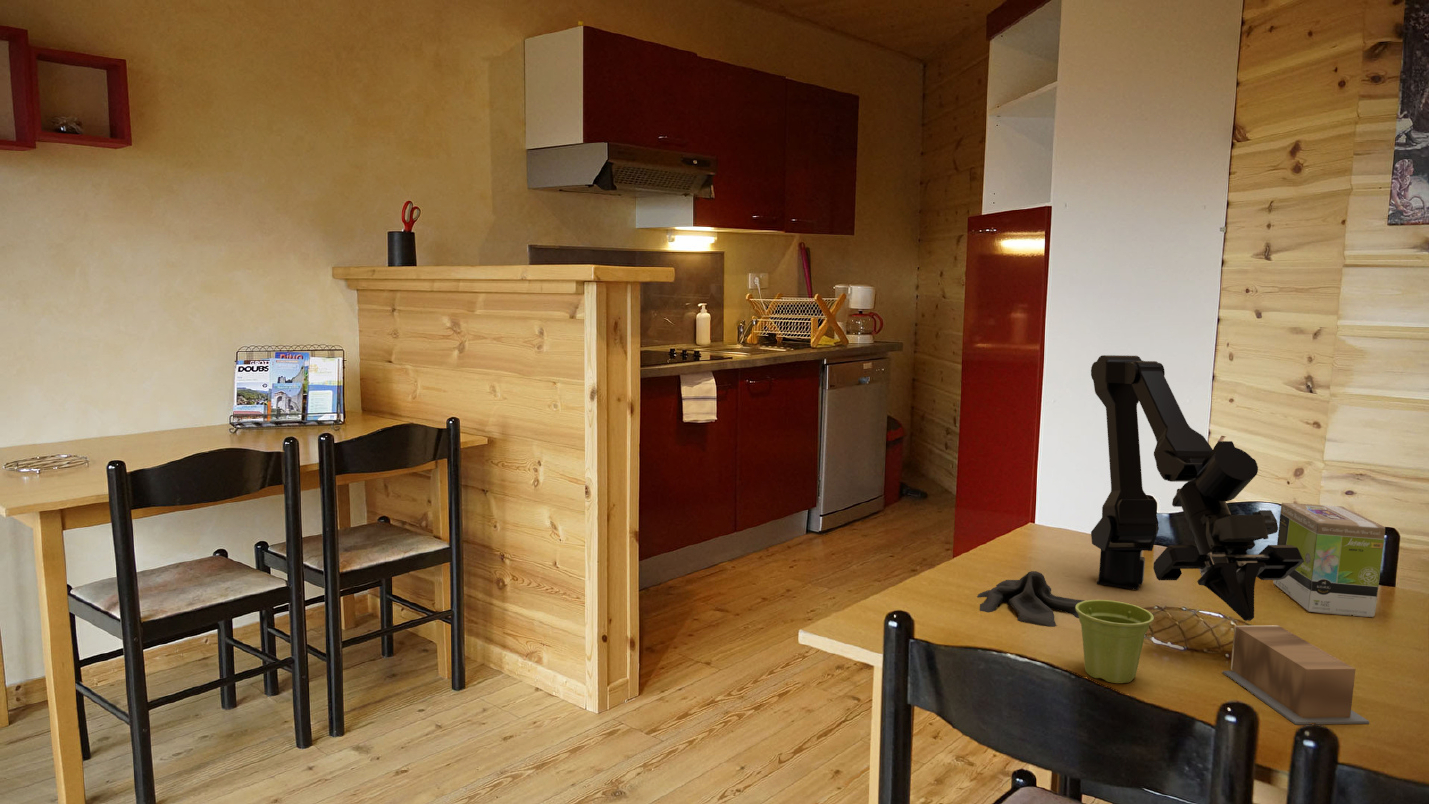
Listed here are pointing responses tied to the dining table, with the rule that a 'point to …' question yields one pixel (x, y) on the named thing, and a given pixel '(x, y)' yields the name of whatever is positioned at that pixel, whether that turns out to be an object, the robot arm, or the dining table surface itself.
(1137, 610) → the plant pot
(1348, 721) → the rubber mat
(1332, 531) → the tea box
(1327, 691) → the walnut block
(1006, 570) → the dining table surface
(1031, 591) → the cloth
